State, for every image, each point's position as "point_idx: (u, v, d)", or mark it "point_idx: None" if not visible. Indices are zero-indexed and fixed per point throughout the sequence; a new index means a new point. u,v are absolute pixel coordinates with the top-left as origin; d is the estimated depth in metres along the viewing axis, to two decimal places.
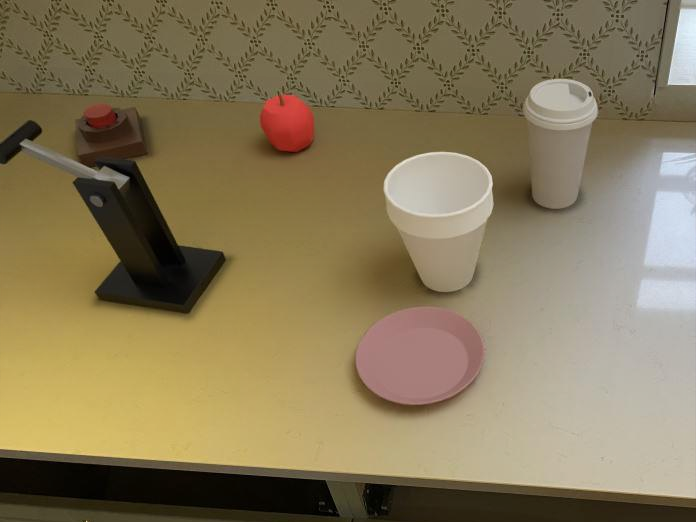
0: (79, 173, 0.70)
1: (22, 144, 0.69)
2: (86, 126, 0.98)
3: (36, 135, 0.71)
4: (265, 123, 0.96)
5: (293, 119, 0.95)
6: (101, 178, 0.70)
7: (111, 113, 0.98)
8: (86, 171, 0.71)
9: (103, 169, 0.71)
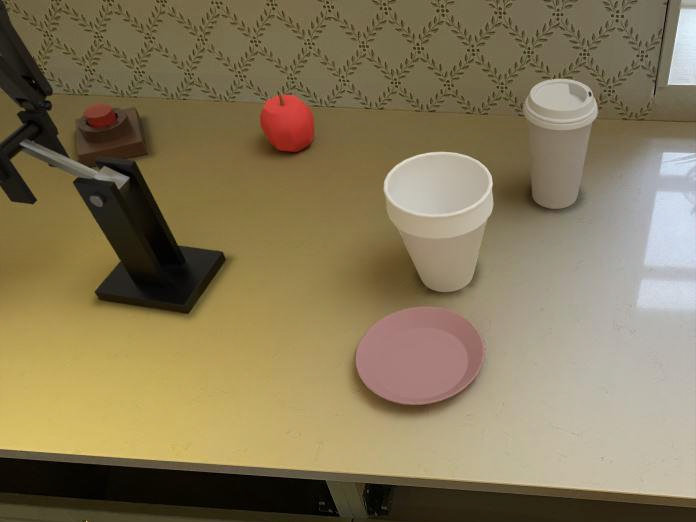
0: (79, 173, 0.70)
1: (22, 144, 0.69)
2: (86, 126, 0.98)
3: (36, 135, 0.71)
4: (265, 123, 0.96)
5: (293, 119, 0.95)
6: (101, 178, 0.70)
7: (111, 113, 0.98)
8: (86, 171, 0.71)
9: (103, 169, 0.71)
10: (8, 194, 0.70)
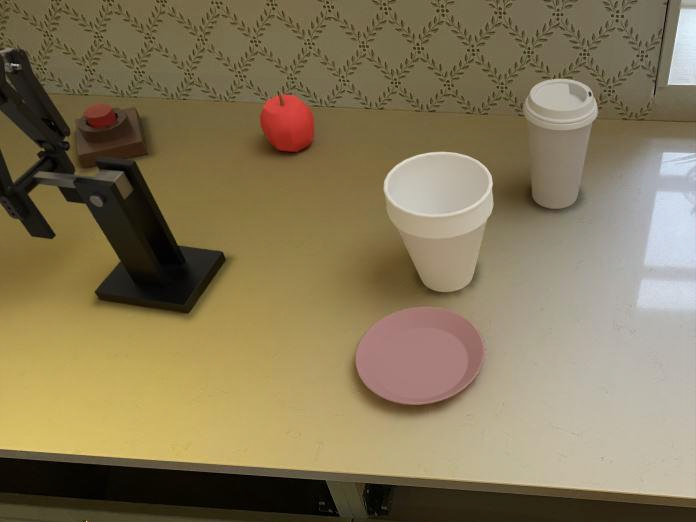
0: None
1: (35, 176, 0.72)
2: (86, 126, 0.98)
3: (50, 167, 0.74)
4: (265, 123, 0.96)
5: (293, 119, 0.95)
6: (97, 179, 0.70)
7: (111, 113, 0.98)
8: None
9: (99, 172, 0.71)
10: (29, 230, 0.74)
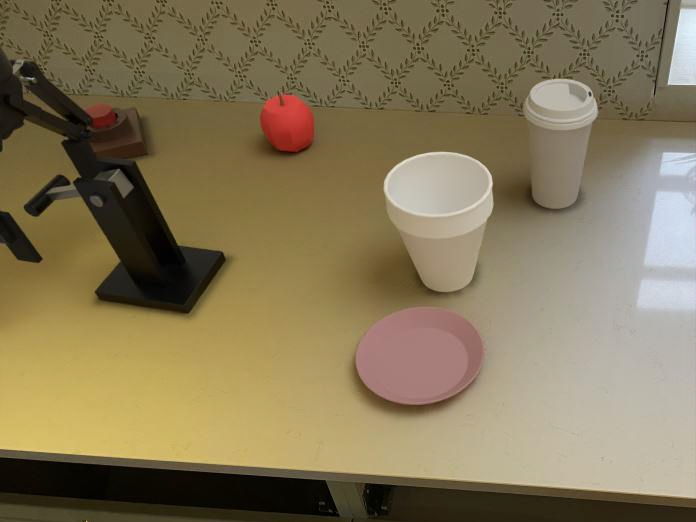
0: None
1: (47, 192, 0.74)
2: None
3: (63, 184, 0.76)
4: (265, 123, 0.96)
5: (293, 119, 0.95)
6: None
7: (111, 113, 0.98)
8: None
9: (99, 174, 0.71)
10: (15, 254, 0.73)
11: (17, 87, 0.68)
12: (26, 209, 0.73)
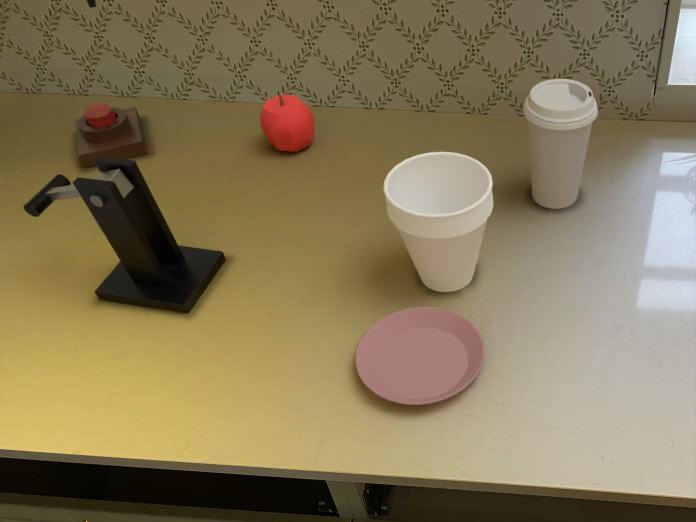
0: None
1: (47, 192, 0.74)
2: (86, 126, 0.98)
3: (63, 184, 0.76)
4: (265, 123, 0.96)
5: (293, 119, 0.95)
6: None
7: (111, 113, 0.98)
8: None
9: (99, 174, 0.71)
10: None
11: None
12: (26, 209, 0.73)
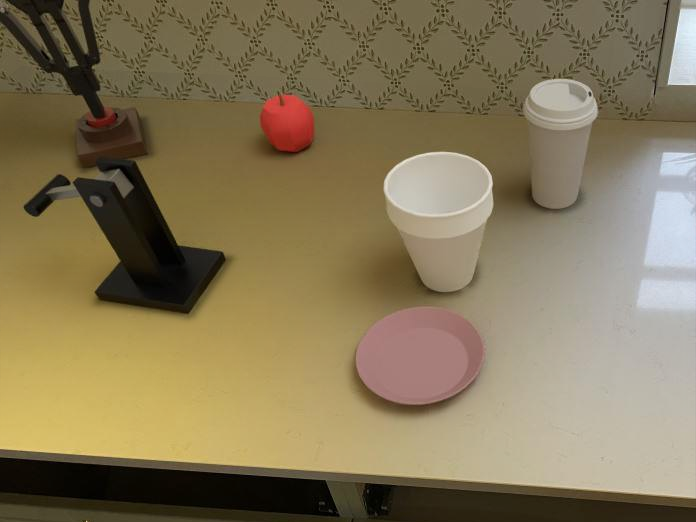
0: None
1: (47, 192, 0.74)
2: (86, 126, 0.98)
3: (63, 184, 0.76)
4: (265, 123, 0.96)
5: (293, 119, 0.95)
6: None
7: (113, 116, 0.98)
8: None
9: (99, 174, 0.71)
10: None
11: None
12: (26, 209, 0.73)
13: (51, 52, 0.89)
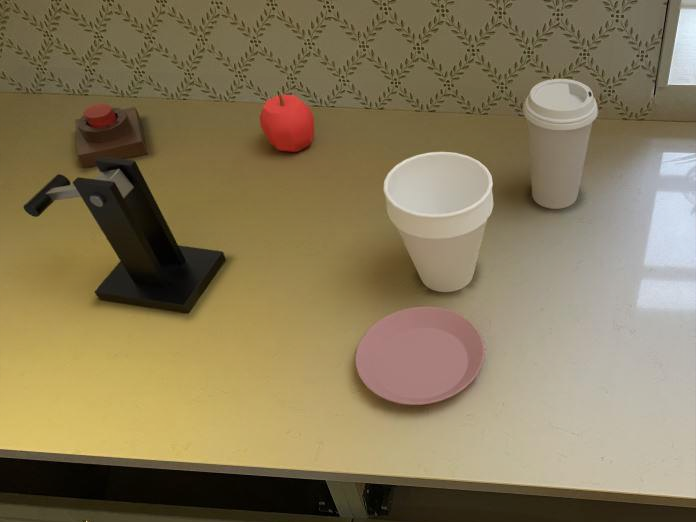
0: None
1: (47, 192, 0.74)
2: (86, 126, 0.98)
3: (63, 184, 0.76)
4: (265, 123, 0.96)
5: (293, 119, 0.95)
6: None
7: (111, 113, 0.98)
8: None
9: (99, 174, 0.71)
10: None
11: None
12: (26, 209, 0.73)
13: None
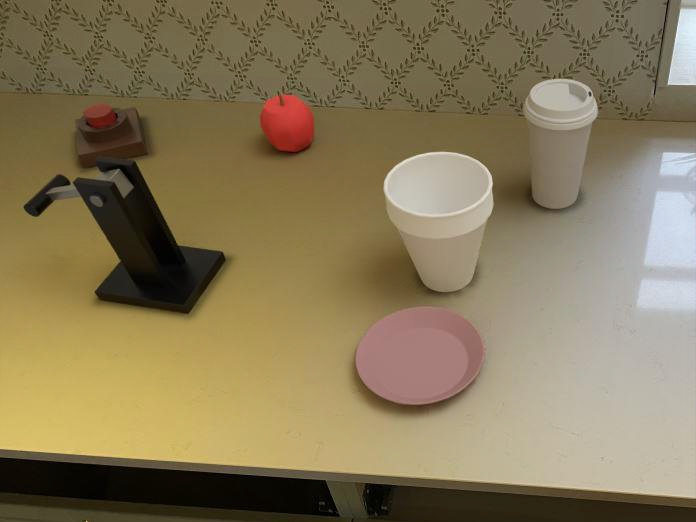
0: None
1: (47, 192, 0.74)
2: (86, 126, 0.98)
3: (63, 184, 0.76)
4: (265, 123, 0.96)
5: (293, 119, 0.95)
6: None
7: (111, 113, 0.98)
8: None
9: (99, 174, 0.71)
10: None
11: None
12: (26, 209, 0.73)
13: None
